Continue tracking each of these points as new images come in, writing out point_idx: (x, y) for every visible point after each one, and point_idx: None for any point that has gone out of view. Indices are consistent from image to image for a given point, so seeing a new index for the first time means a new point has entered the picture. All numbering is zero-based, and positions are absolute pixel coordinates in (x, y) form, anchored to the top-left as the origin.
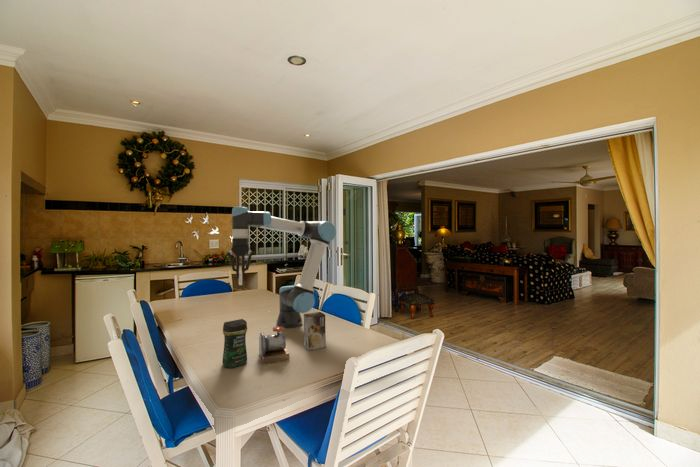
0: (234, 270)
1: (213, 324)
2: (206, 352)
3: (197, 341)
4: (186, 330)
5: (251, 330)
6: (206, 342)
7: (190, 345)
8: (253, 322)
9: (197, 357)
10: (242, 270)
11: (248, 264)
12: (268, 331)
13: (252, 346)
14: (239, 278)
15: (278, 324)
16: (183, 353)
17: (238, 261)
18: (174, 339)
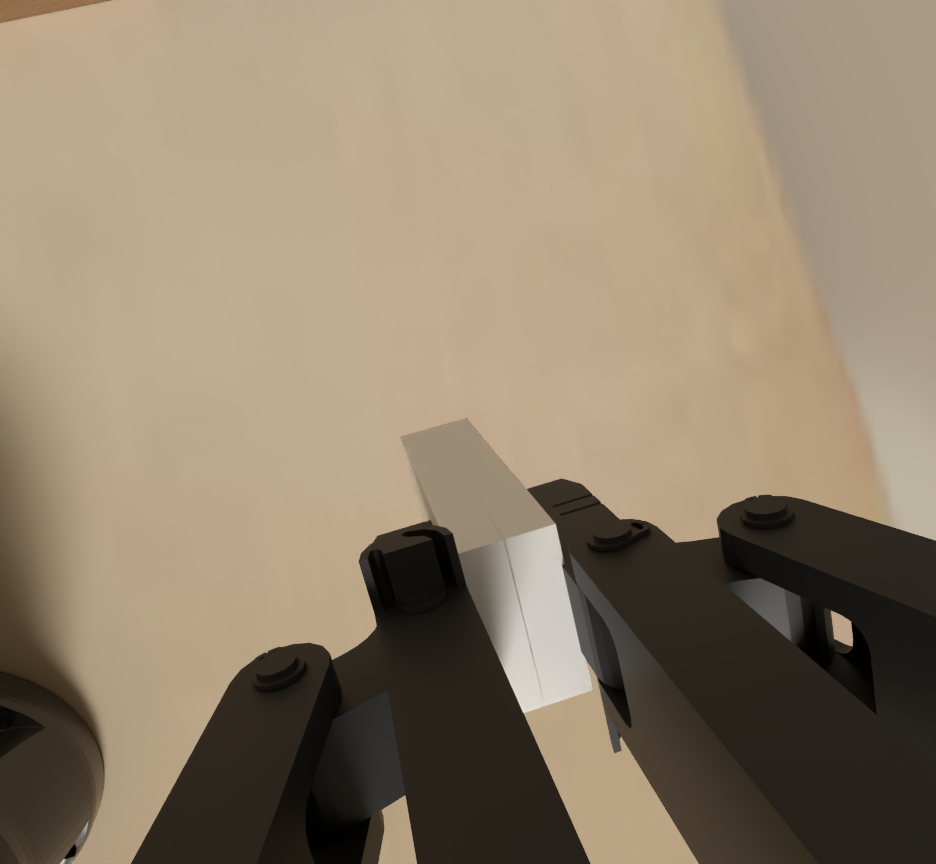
0: (738, 509)
1: (658, 803)
2: (601, 153)
3: (708, 420)
4: None
5: (322, 633)
6: (640, 386)
7: (742, 338)
8: None
9: (648, 56)
10: (454, 588)
11: (191, 832)
12: (157, 592)
13: (244, 216)
14: (495, 465)
15: (68, 723)
16: (760, 171)
17: (809, 792)
18: (869, 489)
